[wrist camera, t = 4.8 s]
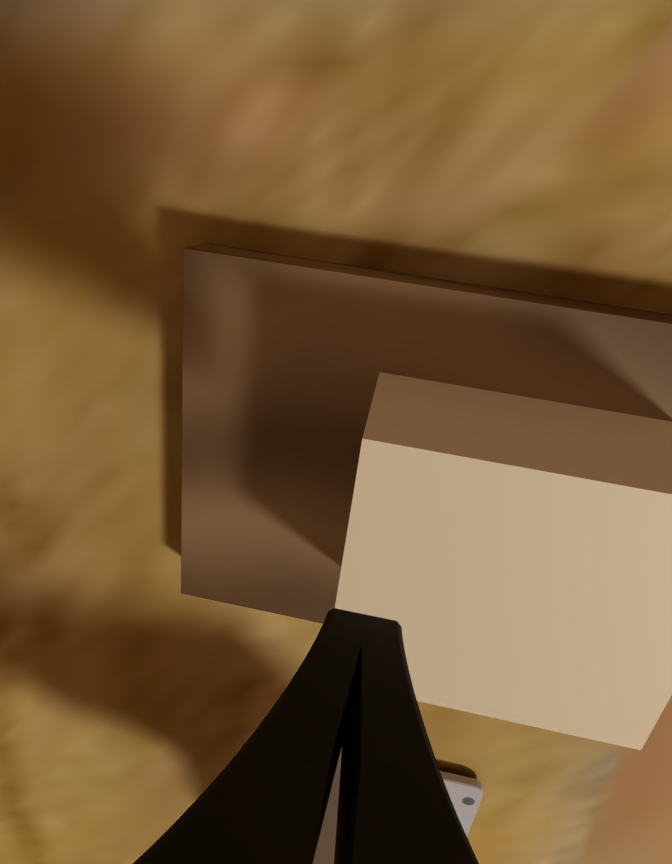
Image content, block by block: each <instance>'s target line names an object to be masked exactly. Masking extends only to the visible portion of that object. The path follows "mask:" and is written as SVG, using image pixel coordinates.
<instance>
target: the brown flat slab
mask: <svg viewBox="0 0 672 864" xmlns="http://www.w3.org/2000/svg"><path fill="white" fill-rule="evenodd" d="M379 372H383V373H389V374H394V375H400V376H406V377H412V378H418V379H424V380H430V381H436V382H442V383H448V384H453V385H459V386H465V387H471V388H477V389H483V390H489V391H495V392H501V393H507V394H512V395H518V396H524V397H530V398H536V399H542V400H548V401H554V402H560V403H566V404H572V405H577V406H583V407H589V408H595V409H601V410H607V411H613V412H619V413H625V414H631V415H636V416H642V417H648V418H654V419H660V420H666V421H672V315H667V314H661V313H654V312H648V311H641V310H635V309H628V308H622V307H615V306H609V305H602V304H596V303H589V302H583V301H576V300H570V299H563V298H557V297H550V296H543V295H537V294H530V293H524V292H517V291H511V290H504V289H498V288H491V287H485V286H478V285H472V284H465V283H459V282H452V281H446V280H439V279H432V278H426V277H419V276H413V275H406V274H400V273H393V272H387V271H380V270H374V269H367V268H361V267H354V266H348V265H341V264H335V263H328V262H322V261H315V260H308V259H302V258H295V257H289V256H282V255H276V254H269V253H263V252H256V251H250V250H243V249H237V248H230V247H224V246H217V245H211V244H200V245H195V246H191V247H187V248H183V364H182V517H181V593H182V594H186V595H191V596H196V597H201V598H205V599H210V600H215V601H220V602H224V603H229V604H234V605H239V606H243V607H248V608H253V609H257V610H262V611H267V612H272V613H276V614H281V615H286V616H291V617H295V618H300V619H305V620H309V621H314V622H319V623H324V621H325V618H326V615H327V612H328V611H330V610H332V609H333V608H335V603H336V597H337V591H338V585H339V578H340V572H341V566H342V560H343V554H344V548H345V542H346V535H347V529H348V523H349V517H350V511H351V505H352V499H353V493H354V486H355V480H356V474H357V468H358V462H359V456H360V450H361V443H362V438H363V434H364V430H365V426H366V422H367V419H368V415H369V411H370V407H371V403H372V399H373V395H374V392H375V388H376V384H377V380H378V376H379Z"/></svg>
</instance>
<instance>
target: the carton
mask: <svg viewBox="0 0 672 864" xmlns="http://www.w3.org/2000/svg"><path fill="white" fill-rule="evenodd" d="M335 608H337V609H341V610H346V611H351V612H356V613H361V614H366V615H371V616H375V617H380V618H385V619H390V620H395V621H397V622H398V623H399V624H400V626H401V627H402V637H403V643H404V649H405V655H406V660H407V664H408V669H409V673H410V677H411V681H412V685H413V689H414V693H415V696H416V700H417V701H420V702H424V703H429V704H433V705H438V706H442V707H447V708H451V709H456V710H461V711H465V712H470V713H474V714H479V715H483V716H488V717H492V718H497V719H501V720H506V721H510V722H515V723H519V724H524V725H529V726H533V727H538V728H542V729H547V730H551V731H556V732H560V733H565V734H569V735H574V736H578V737H583V738H587V739H592V740H597V741H601V742H606V743H610V744H615V745H619V746H624V747H628V748H633V749H637V750H641V749H642V747H643V745H644V744H645V742H646V740H647V738H648V736H649V735H650V733H651V731H652V729H653V728H654V726H655V724H656V722H657V720H658V718H659V717H660V715H661V713H662V711H663V710H664V708H665V706H666V704H667V702H668V701H669V699H670V697H671V695H672V421H666V420H660V419H654V418H648V417H642V416H636V415H631V414H625V413H619V412H613V411H607V410H601V409H595V408H589V407H583V406H577V405H572V404H566V403H560V402H554V401H548V400H542V399H536V398H530V397H524V396H518V395H512V394H507V393H501V392H495V391H489V390H483V389H477V388H471V387H465V386H459V385H453V384H448V383H442V382H436V381H430V380H424V379H418V378H412V377H406V376H400V375H394V374H389V373H383V372H379V376H378V380H377V384H376V388H375V392H374V395H373V399H372V403H371V407H370V411H369V415H368V419H367V422H366V426H365V430H364V434H363V438H362V443H361V450H360V456H359V462H358V468H357V474H356V480H355V486H354V493H353V499H352V505H351V511H350V517H349V523H348V529H347V535H346V542H345V548H344V554H343V560H342V566H341V572H340V578H339V585H338V591H337V597H336V603H335Z"/></svg>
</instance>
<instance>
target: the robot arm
mask: <svg viewBox="0 0 672 864" xmlns="http://www.w3.org/2000/svg"><path fill="white" fill-rule="evenodd" d="M341 747H342V748H341ZM482 796H483V788H482V784H481V783H480V782H479V781H478V780H476V779H474V778H470V777H466V776H461V775H457V774H453V773H448V772H444V771H440V770H439V767H438V764H437V762H436V759H435V756H434V753H433V750H432V747H431V744H430V742H429V739H428V736H427V733H426V729H425V726H424V723H423V719H422V716H421V713H420V710H419V706H418V703H417V700H416V696H415V693H414V689H413V685H412V681H411V677H410V673H409V669H408V664H407V660H406V655H405V649H404V643H403V637H402V627H401V626H400V624H399V623H398V622H397V621H395V620H390V619H385V618H380V617H375V616H371V615H366V614H361V613H356V612H351V611H346V610H341V609H337V608H333V609H332V610H330V611H328V612H327V615H326V618H325V621H324V623H323V625H322V628H321V630H320V632H319V634H318V636H317V638H316V640H315V642H314V644H313V645H312V647H311V649H310V651H309V652H308V654H307V656H306V658H305V659H304V661H303V663H302V664H301V666H300V667H299V669H298V671H297V672H296V674H295V675H294V677H293V678H292V680H291V681H290V683H289V684H288V686H287V688H286V689H285V691H284V692H283V694H282V695H281V697H280V698H279V699H278V701H277V702H276V704H275V705H274V706H273V708H272V709H271V710H270V712H269V713H268V714H267V716H266V717H265V718H264V720H263V721H262V722H261V724H260V725H259V726H258V728H257V729H256V731H255V732H254V733H253V734H252V736H251V737H250V738H249V740H248V741H247V742H246V743H245V745H244V746H243V747H242V748H241V750H240V751H239V752H238V753H237V754H236V756H235V757H234V758H233V759H232V760H231V762H230V763H229V764H228V765H227V766H226V767H225V769H224V770H223V771H222V772H221V773H220V774H219V776H218V777H217V778H216V779H215V780H214V781H213V782H212V784H211V785H210V786H209V787H208V788H207V789H206V790H205V791H204V792H203V793H202V794H201V795H200V797H199V798H198V799H197V800H196V801H195V802H194V803H193V804H192V805H191V806H190V807H189V808H188V809H187V810H186V812H185V813H184V814H183V815H182V816H181V817H180V818H179V819H178V820H177V821H176V822H175V823H174V824H173V825H172V826H171V827H170V828H169V829H168V830H167V831H166V832H165V833H164V834H163V835H162V836H161V837H160V838H159V839H158V840H157V841H156V842H155V843H154V844H153V845H152V846H151V847H150V848H149V849H148V850H147V851H146V852H145V853H144V854H143V855H142V856H140V857H139V858H138V859H137V860H136V861H135V862H134V863H133V864H479V863H478V861H477V859H476V856H475V854H474V852H473V850H472V848H471V845H470V843H469V841H468V839H467V835H468V833H469V830H470V827H471V825H472V822H473V820H474V817H475V814H476V812H477V809H478V807H479V804H480V802H481V799H482Z"/></svg>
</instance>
